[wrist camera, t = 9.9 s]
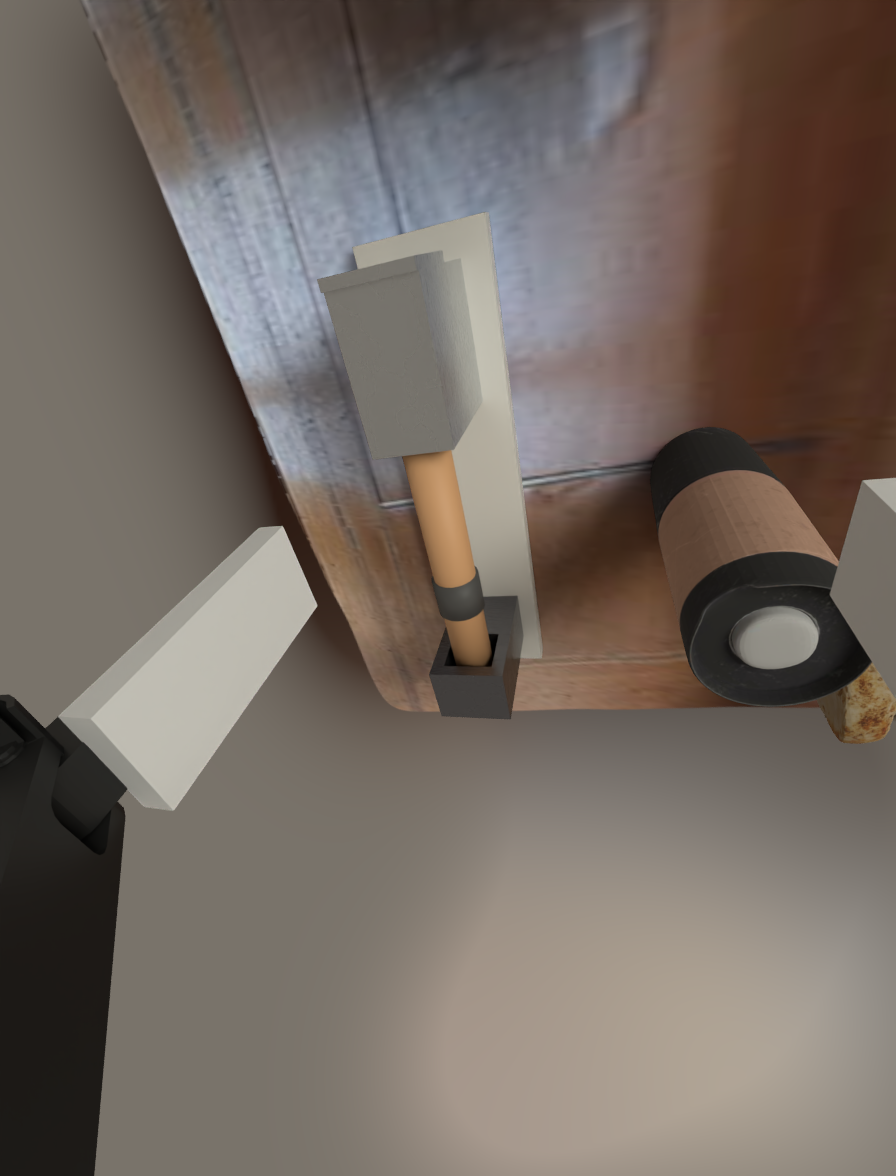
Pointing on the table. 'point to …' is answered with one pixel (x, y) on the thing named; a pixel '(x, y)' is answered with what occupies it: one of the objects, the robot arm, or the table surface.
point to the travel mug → (748, 576)
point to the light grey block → (407, 352)
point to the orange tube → (450, 555)
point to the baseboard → (483, 420)
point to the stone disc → (860, 709)
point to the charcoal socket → (482, 686)
